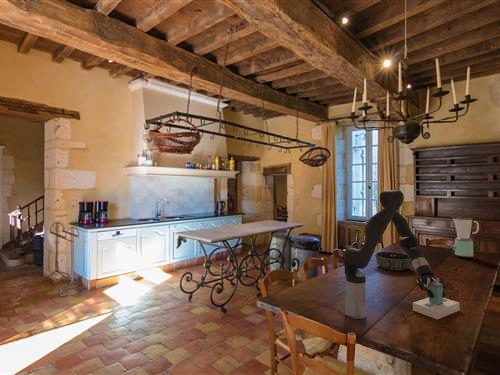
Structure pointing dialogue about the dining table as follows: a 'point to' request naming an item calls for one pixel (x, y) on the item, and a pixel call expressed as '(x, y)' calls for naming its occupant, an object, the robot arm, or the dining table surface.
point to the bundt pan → (393, 260)
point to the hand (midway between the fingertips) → (438, 297)
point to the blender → (464, 237)
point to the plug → (436, 293)
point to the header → (436, 308)
